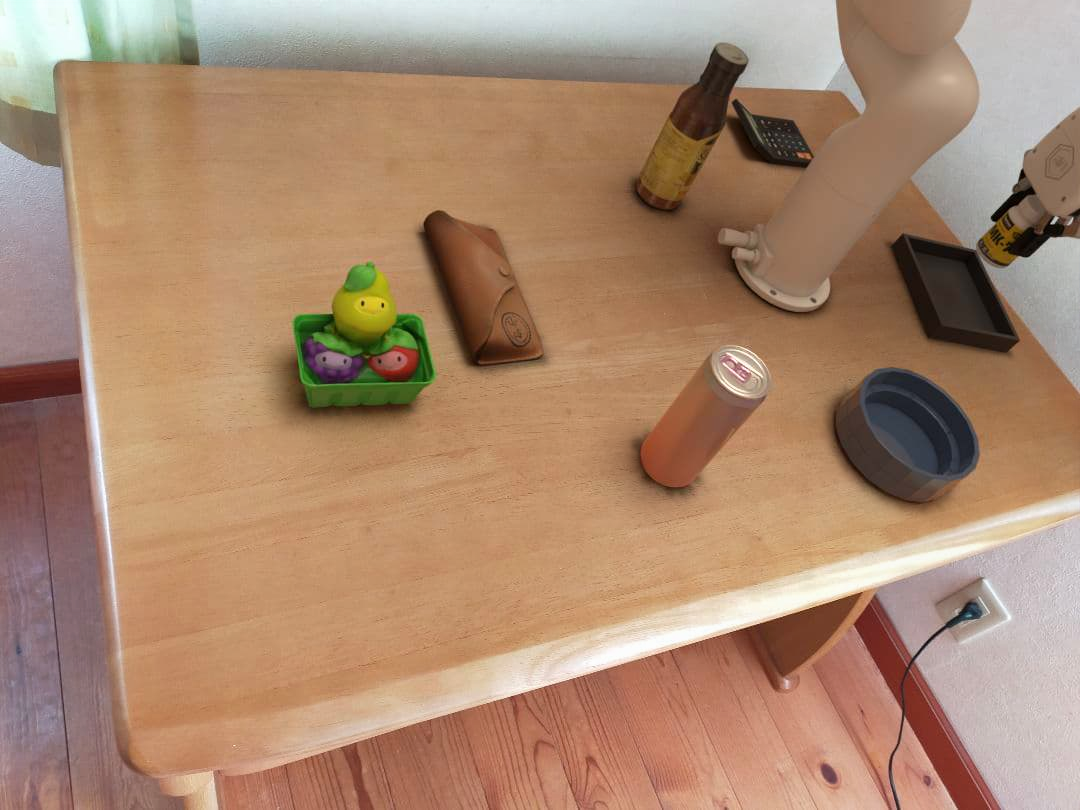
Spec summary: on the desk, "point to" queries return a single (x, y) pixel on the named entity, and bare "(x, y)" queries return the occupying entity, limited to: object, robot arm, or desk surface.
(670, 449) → the beverage can
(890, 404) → the bowl
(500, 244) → the sunglasses case
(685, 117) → the sauce bottle
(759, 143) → the calculator
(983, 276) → the tray
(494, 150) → the desk surface
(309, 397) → the fruit basket
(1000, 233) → the supplement bottle
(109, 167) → the desk surface
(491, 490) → the desk surface
